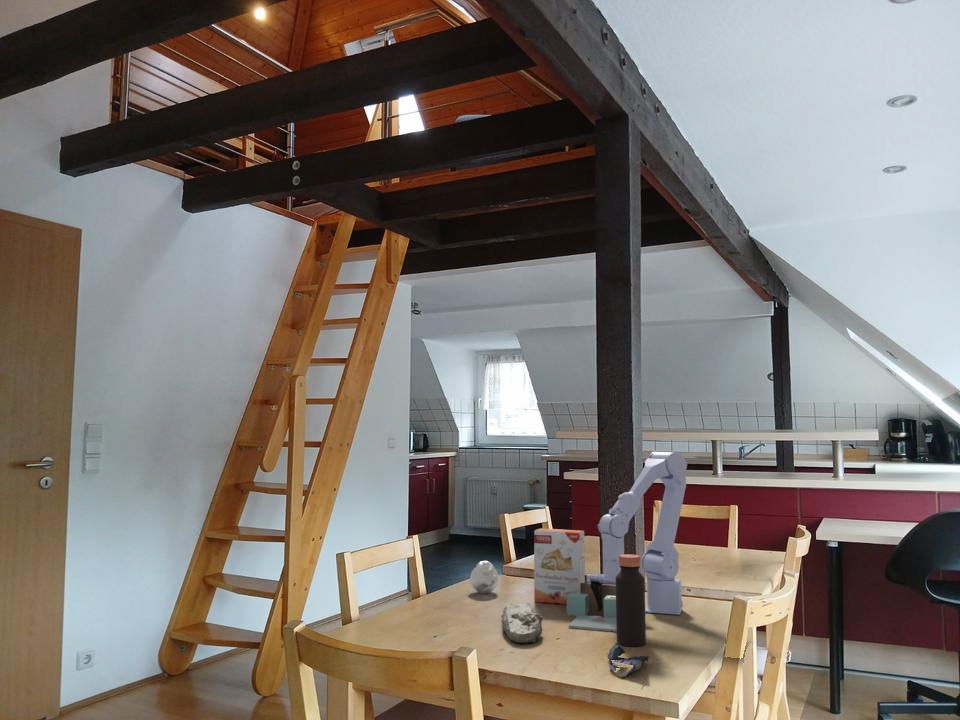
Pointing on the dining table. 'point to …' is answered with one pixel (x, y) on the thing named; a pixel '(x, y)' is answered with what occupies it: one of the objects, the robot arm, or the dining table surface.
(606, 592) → the walnut screen
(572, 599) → the blank cube
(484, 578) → the grey egg-shaped stone
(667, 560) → the robot arm
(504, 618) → the elongated rock
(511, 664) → the dining table surface
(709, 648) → the dining table surface
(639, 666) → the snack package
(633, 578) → the bottle
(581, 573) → the cracker box
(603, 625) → the slate tile
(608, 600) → the lettered cube
